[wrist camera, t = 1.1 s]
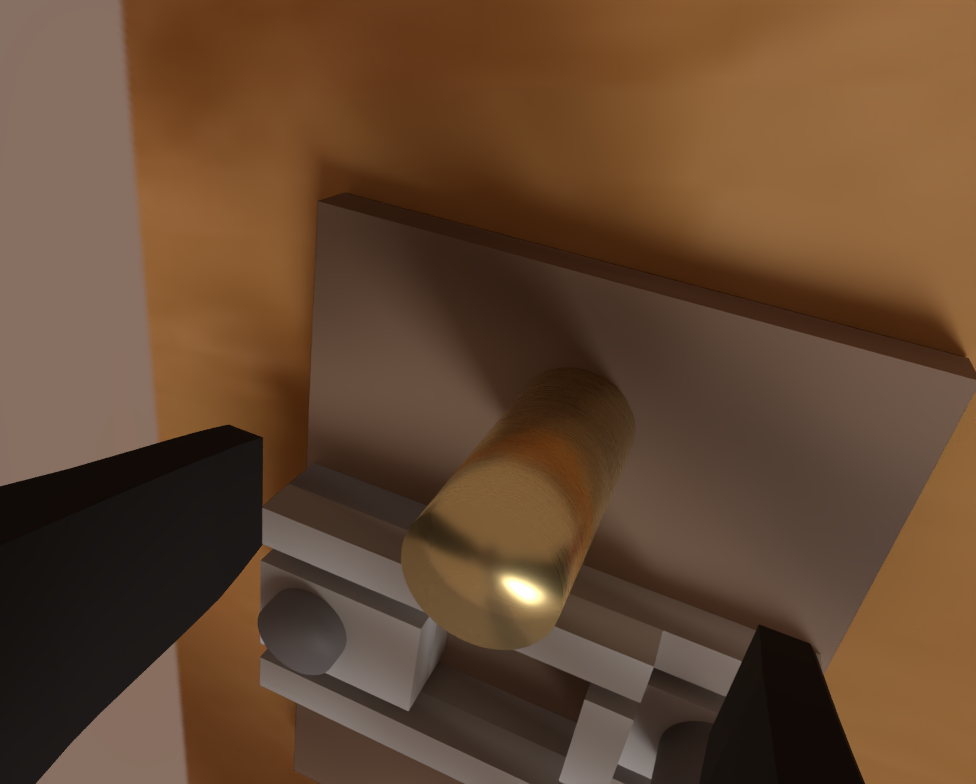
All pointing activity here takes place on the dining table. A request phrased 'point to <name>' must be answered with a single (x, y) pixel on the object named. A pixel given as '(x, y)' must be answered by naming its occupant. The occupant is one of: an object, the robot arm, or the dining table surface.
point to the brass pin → (521, 512)
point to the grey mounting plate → (626, 521)
